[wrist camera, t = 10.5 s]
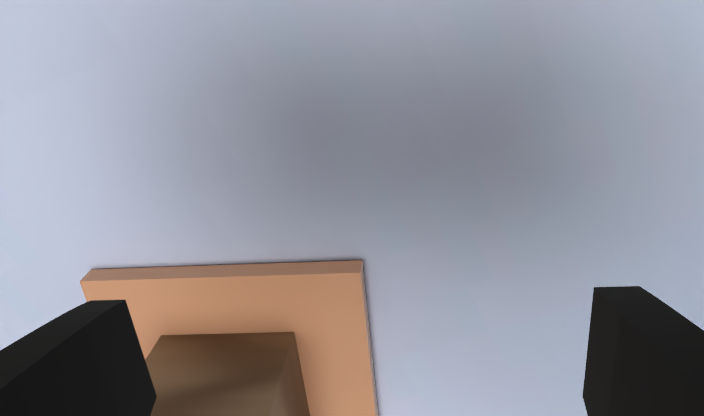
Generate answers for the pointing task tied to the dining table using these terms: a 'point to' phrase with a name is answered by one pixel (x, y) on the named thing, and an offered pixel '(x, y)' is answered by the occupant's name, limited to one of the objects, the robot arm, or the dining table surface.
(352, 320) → the terracotta tile
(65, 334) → the robot arm
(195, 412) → the walnut block
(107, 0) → the dining table surface
